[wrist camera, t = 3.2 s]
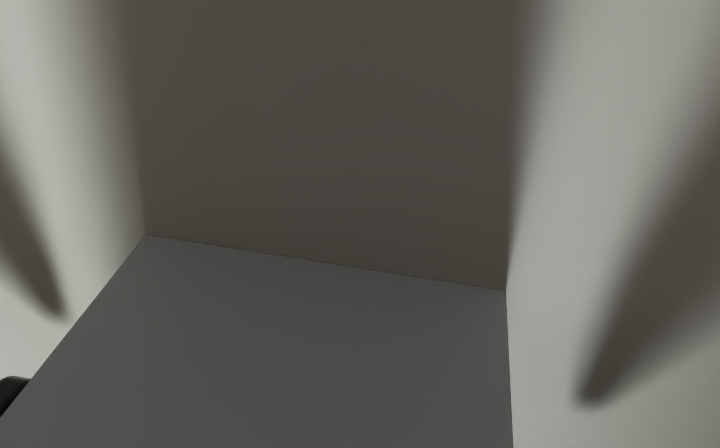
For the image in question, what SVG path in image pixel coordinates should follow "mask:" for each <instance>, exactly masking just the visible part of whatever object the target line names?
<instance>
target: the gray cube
mask: <svg viewBox="0 0 720 448" xmlns="http://www.w3.org/2000/svg"><path fill="white" fill-rule="evenodd" d="M0 448H513V433H512V412H511V391H510V370H509V349H508V328H507V307H506V291H503V290H496V289H490V288H483V287H477V286H471V285H464V284H458V283H451V282H445V281H439V280H432V279H426V278H419V277H413V276H407V275H400V274H394V273H387V272H381V271H374V270H368V269H362V268H355V267H349V266H342V265H336V264H330V263H323V262H317V261H310V260H304V259H298V258H291V257H285V256H278V255H272V254H266V253H259V252H253V251H246V250H240V249H234V248H227V247H221V246H214V245H208V244H201V243H195V242H189V241H182V240H176V239H169V238H163V237H157V236H150V235H145V236H144V238H143V239H142V240H141V241H140V243H139V244H138V245H137V246H136V248H135V249H134V250H133V252H132V253H131V254H130V255H129V257H128V258H127V259H126V260H125V262H124V263H123V264H122V265H121V267H120V268H119V269H118V270H117V272H116V273H115V274H114V275H113V277H112V278H111V279H110V280H109V282H108V283H107V284H106V285H105V287H104V288H103V289H102V291H101V292H100V293H99V294H98V296H97V297H96V298H95V299H94V301H93V302H92V303H91V304H90V306H89V307H88V308H87V309H86V311H85V312H84V313H83V314H82V316H81V317H80V318H79V319H78V321H77V322H76V323H75V325H74V326H73V327H72V328H71V330H70V331H69V332H68V333H67V335H66V336H65V337H64V338H63V340H62V341H61V342H60V343H59V345H58V346H57V347H56V348H55V350H54V351H53V352H52V353H51V355H50V356H49V357H48V358H47V360H46V361H45V362H44V364H43V365H42V366H41V367H40V369H39V370H38V371H37V372H36V374H35V375H34V376H33V377H32V379H31V380H30V381H29V382H28V384H27V385H26V386H25V387H24V389H23V390H22V391H21V392H20V394H19V395H18V396H17V397H16V399H15V400H14V401H13V403H12V404H11V405H10V406H9V408H8V409H7V410H6V411H5V413H4V414H3V415H2V416H1V418H0Z"/></svg>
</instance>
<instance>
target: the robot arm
mask: <svg viewBox="0 0 720 448" xmlns="http://www.w3.org/2000/svg"><path fill="white" fill-rule="evenodd" d="M30 380H31V379H29V378H23V377H17V376H9V377H6V378H3V379H2V380H0V418H1V416H2V415H3V414H4V413H5V411H6V410H7V409H8V408H9V406H10V405H11V404H12V403H13V401H14V400H15V399H16V397H17V396H18V395H19V394H20V392H21V391H22V390H23V389H24V387H25V386H26V385H27V384H28V382H29V381H30Z"/></svg>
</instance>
